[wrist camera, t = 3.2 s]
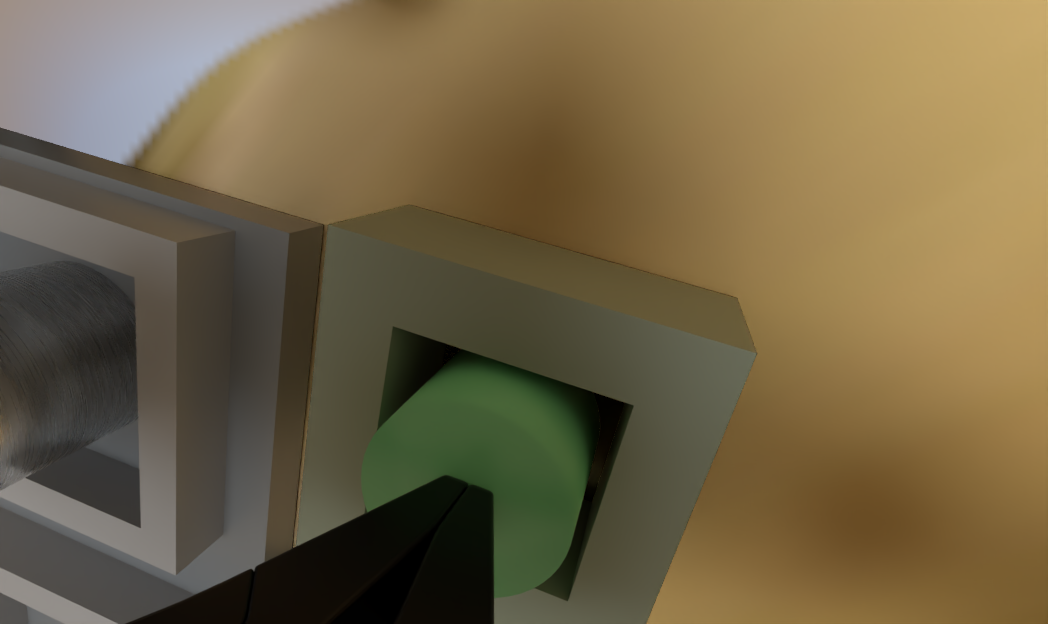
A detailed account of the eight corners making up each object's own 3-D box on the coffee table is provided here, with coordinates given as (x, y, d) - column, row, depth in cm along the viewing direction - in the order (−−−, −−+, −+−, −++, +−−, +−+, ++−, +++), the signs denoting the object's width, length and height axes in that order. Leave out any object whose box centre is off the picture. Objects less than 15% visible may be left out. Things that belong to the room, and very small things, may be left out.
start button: (622, 368, 11) (601, 448, 8) (574, 515, 12) (543, 629, 9) (449, 313, 11) (376, 370, 9) (422, 459, 13) (349, 550, 10)
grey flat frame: (323, 225, 13) (236, 246, 10) (269, 773, 20) (210, 866, 17) (-47, 113, 15) (-196, 108, 12) (24, 650, 21) (-62, 716, 19)
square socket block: (737, 298, 11) (757, 353, 8) (632, 569, 13) (621, 684, 10) (409, 204, 12) (328, 224, 9) (369, 469, 14) (295, 548, 12)
